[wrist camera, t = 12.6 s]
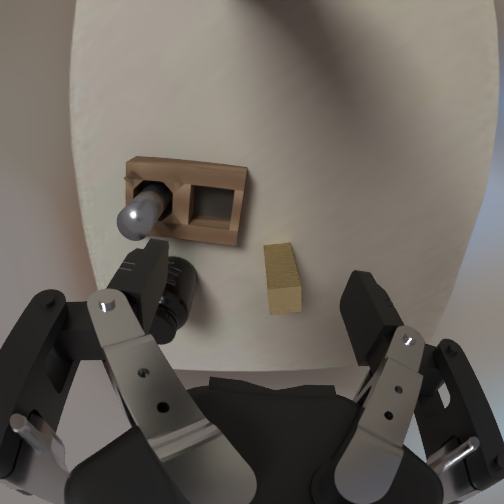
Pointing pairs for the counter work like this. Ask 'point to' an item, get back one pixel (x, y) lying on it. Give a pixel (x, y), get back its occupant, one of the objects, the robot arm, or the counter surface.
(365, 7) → the counter surface
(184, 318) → the supplement bottle
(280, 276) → the square bit
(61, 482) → the robot arm
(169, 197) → the cylinder
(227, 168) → the bore block
